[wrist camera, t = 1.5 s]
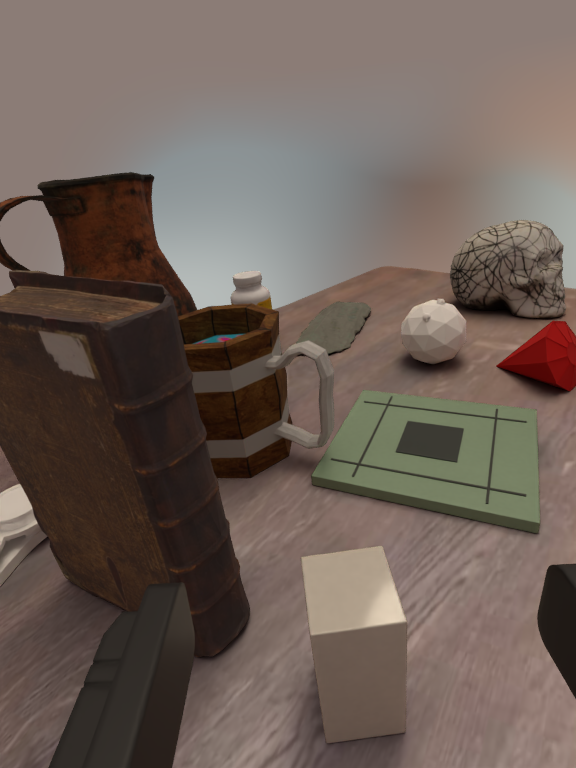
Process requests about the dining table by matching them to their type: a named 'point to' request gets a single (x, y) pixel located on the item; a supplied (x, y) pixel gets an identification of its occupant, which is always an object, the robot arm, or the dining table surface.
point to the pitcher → (106, 232)
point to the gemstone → (547, 357)
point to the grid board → (439, 457)
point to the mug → (249, 387)
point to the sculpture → (511, 270)
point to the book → (116, 445)
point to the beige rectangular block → (357, 643)
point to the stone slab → (336, 326)
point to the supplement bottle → (250, 290)
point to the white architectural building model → (16, 530)
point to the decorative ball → (433, 331)
